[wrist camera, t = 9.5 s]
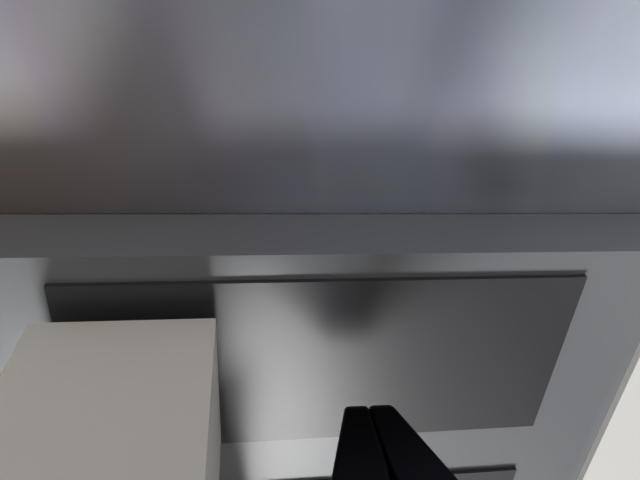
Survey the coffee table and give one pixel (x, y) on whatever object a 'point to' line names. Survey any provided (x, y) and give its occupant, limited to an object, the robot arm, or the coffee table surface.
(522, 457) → the breaker panel
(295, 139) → the coffee table surface
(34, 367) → the block
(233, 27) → the coffee table surface
